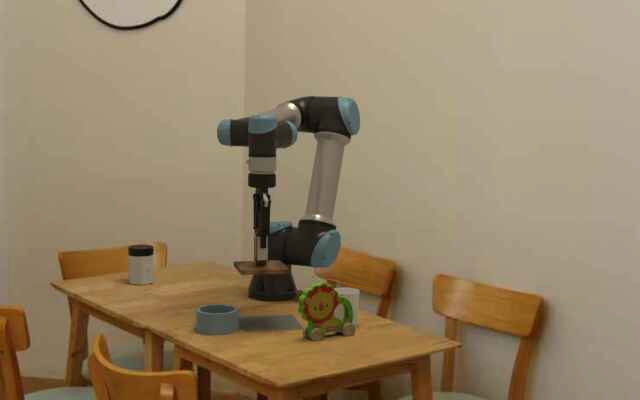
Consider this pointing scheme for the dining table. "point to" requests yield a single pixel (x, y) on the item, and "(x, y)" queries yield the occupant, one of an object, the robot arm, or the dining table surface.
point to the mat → (269, 323)
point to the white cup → (353, 298)
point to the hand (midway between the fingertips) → (261, 258)
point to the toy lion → (324, 312)
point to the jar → (141, 264)
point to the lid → (261, 266)
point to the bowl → (217, 319)
